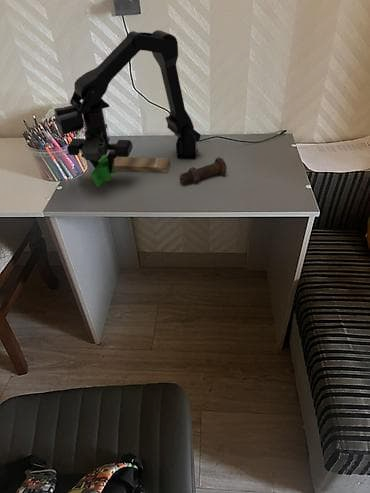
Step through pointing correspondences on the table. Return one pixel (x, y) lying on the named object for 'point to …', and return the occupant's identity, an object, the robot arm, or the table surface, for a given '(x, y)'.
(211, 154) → the table surface
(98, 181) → the pipe clamp
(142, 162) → the brown wooden plank
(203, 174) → the bolt
